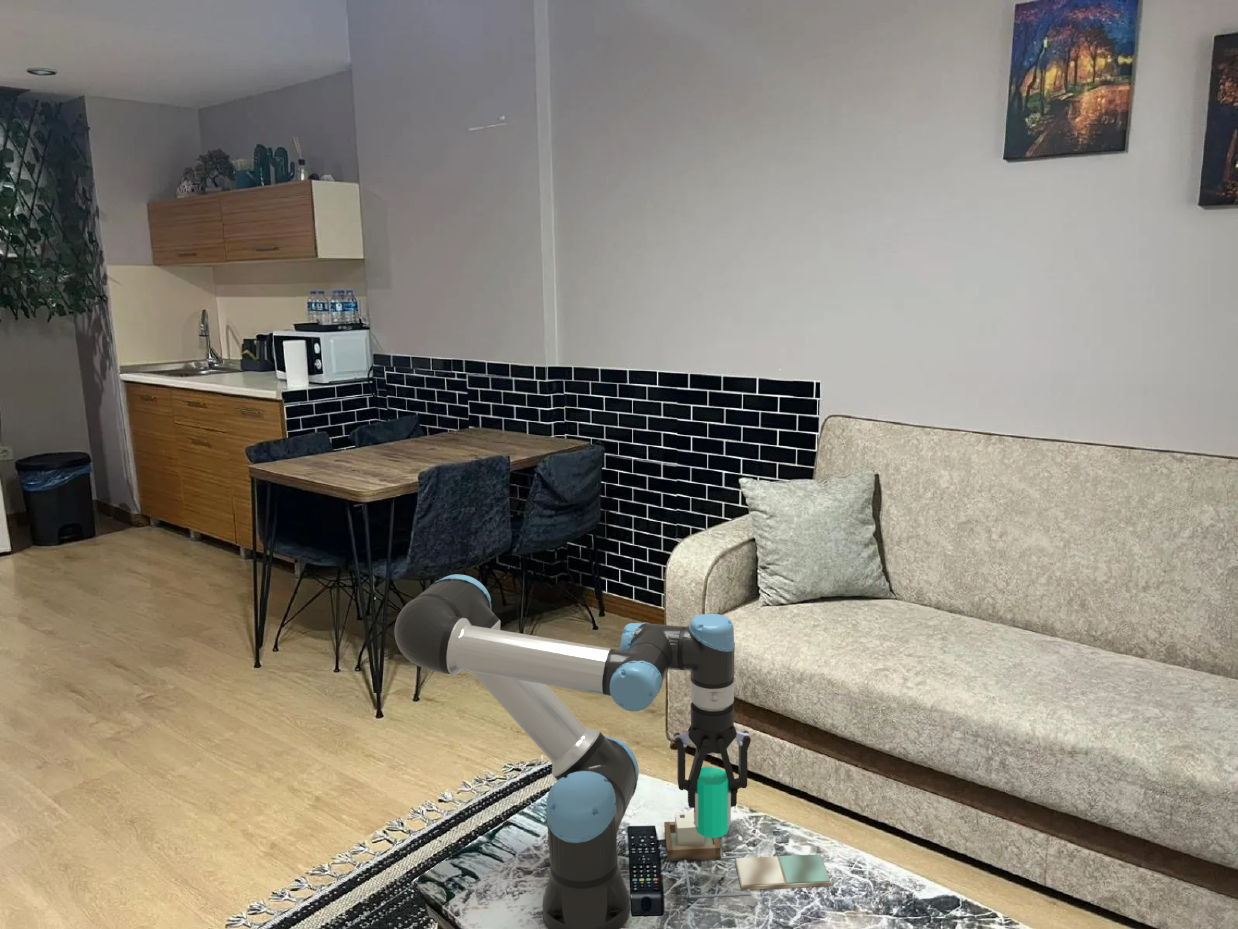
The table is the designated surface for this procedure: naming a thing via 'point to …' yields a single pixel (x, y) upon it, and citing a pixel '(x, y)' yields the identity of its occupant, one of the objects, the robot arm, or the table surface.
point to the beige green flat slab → (782, 872)
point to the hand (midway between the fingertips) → (712, 821)
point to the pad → (712, 894)
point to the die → (687, 830)
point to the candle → (712, 802)
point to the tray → (690, 847)
